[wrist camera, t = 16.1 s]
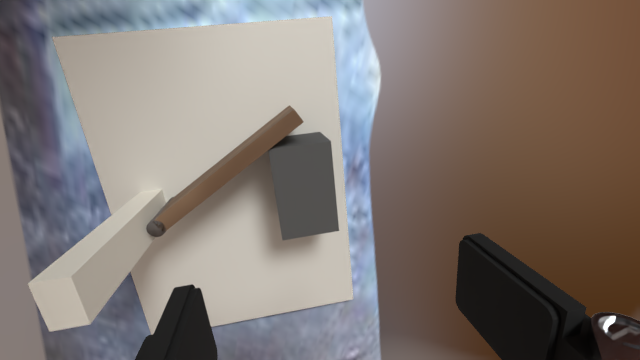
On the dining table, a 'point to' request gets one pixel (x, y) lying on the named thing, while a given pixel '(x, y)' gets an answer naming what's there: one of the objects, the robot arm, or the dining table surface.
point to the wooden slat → (224, 171)
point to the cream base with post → (198, 170)
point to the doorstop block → (304, 185)
